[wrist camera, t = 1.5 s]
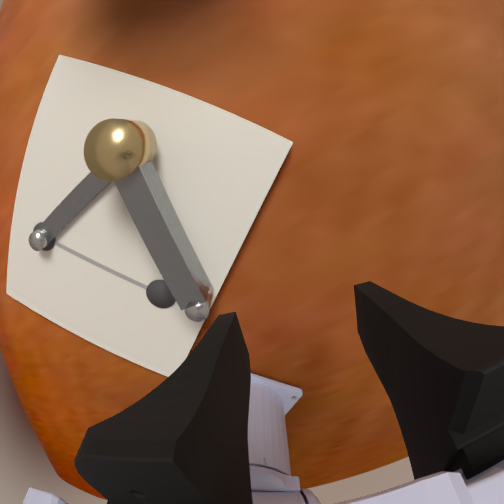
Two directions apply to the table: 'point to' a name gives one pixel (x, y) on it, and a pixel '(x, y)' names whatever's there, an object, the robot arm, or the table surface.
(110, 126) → the divider leg
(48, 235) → the divider fixed leg
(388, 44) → the table surface
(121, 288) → the plate
